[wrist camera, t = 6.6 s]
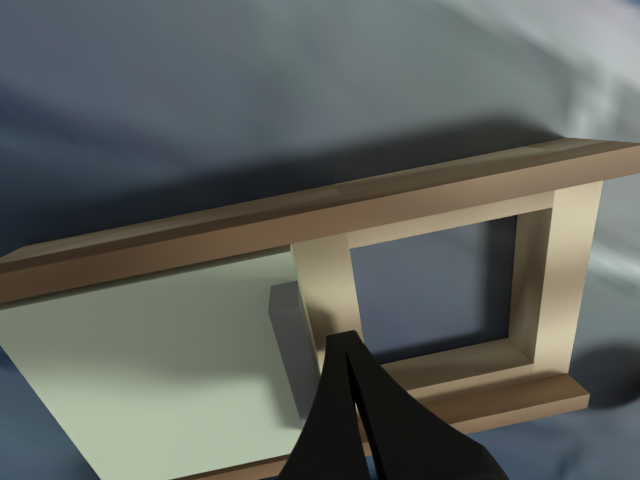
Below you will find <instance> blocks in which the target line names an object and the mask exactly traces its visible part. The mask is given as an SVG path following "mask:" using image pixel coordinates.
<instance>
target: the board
mask: <svg viewBox="0 0 640 480" xmlns="http://www.w3.org/2000/svg"><path fill="white" fill-rule="evenodd" d="M637 173H640V143H631V142H618V141H605V140H591V139H578V138H562V139H557V140H552V141H547V142H542V143H537V144H532V145H527V146H522V147H517V148H512V149H507V150H502V151H497V152H492V153H487V154H482V155H477V156H472V157H467V158H462V159H457V160H452V161H447V162H442V163H437V164H432V165H427V166H422V167H417V168H412V169H407V170H402V171H397V172H392V173H387V174H382V175H377V176H372V177H367V178H362V179H357V180H352V181H347V182H342V183H337V184H332V185H327V186H322V187H317V188H312V189H307V190H302V191H297V192H292V193H287V194H282V195H277V196H272V197H267V198H262V199H257V200H252V201H247V202H242V203H237V204H232V205H227V206H222V207H217V208H212V209H207V210H202V211H197V212H192V213H187V214H182V215H177V216H172V217H167V218H162V219H157V220H152V221H147V222H142V223H137V224H132V225H127V226H122V227H117V228H112V229H107V230H102V231H97V232H92V233H87V234H82V235H77V236H72V237H67V238H62V239H57V240H52V241H47V242H42V243H37V244H33V245H28V246H23V247H21V248H19V249H17V250H15V251H13V252H11V253H9V254H7V255H5V256H3V257H1V258H0V303H3V302H8V301H13V300H17V299H22V298H27V297H32V296H37V295H42V294H47V293H52V292H57V291H62V290H67V289H72V288H76V287H81V286H86V285H91V284H96V283H101V282H106V281H111V280H116V279H121V278H126V277H131V276H135V275H140V274H145V273H150V272H155V271H160V270H165V269H170V268H175V267H180V266H185V265H190V264H195V263H199V262H204V261H209V260H214V259H219V258H224V257H229V256H234V255H239V254H244V253H249V252H254V251H258V250H263V249H268V248H273V247H278V246H283V245H288V244H292V247H293V252H294V256H295V260H296V264H297V269H298V273H299V277H300V281H301V286H302V290H303V294H304V298H305V303H306V307H307V311H308V315H309V319H310V324H311V328H312V332H313V336H314V341H315V345H316V349H317V353H318V358H319V362H320V366H321V370H322V368H323V363H324V357H325V349H326V337H327V336H328V335H331V334H336V333H341V332H346V331H351V330H355V331H357V333H358V335H359V336H360V338H361V340H362V341H363V343H364V340H363V334H362V328H361V321H360V315H359V309H358V302H357V296H356V289H355V283H354V277H353V270H352V264H351V258H350V251H349V249H351V248H356V247H361V246H366V245H371V244H376V243H381V242H385V241H390V240H395V239H400V238H405V237H410V236H415V235H420V234H425V233H429V232H434V231H439V230H444V229H449V228H454V227H459V226H464V225H469V224H473V223H478V222H483V221H488V220H493V219H498V218H503V217H508V216H513V215H517V227H516V240H515V253H514V266H513V279H512V292H511V305H510V319H509V332H508V338H504V339H499V340H495V341H490V342H485V343H480V344H476V345H471V346H466V347H462V348H457V349H452V350H447V351H443V352H438V353H433V354H428V355H424V356H419V357H414V358H410V359H405V360H400V361H395V362H391V363H386V364H381V366H382V367H383V368H384V369H385V370H386V372H387V373H388V374H389V375H390V376H391V377H392V378H393V379H394V380H395V381H396V382H397V383H398V384H399V385H400V386H401V387H402V388H403V389H404V390H406V391H407V392H408V393H409V394H410V395H411V396H412V397H413V398H415V399H416V400H417V401H418V402H419V403H421V404H422V405H423V406H424V407H426V408H427V409H428V410H430V411H431V412H432V413H434V414H435V415H436V416H438V417H439V418H440V419H442V420H443V421H445V422H446V423H448V424H449V425H450V426H452V427H453V428H455V429H456V430H458V431H460V432H461V433H463V434H464V435H465V434H470V433H474V432H479V431H484V430H488V429H493V428H497V427H502V426H507V425H511V424H516V423H521V422H525V421H530V420H534V419H539V418H544V417H548V416H553V415H557V414H562V413H567V412H571V411H576V410H580V409H585V408H587V406H588V401H589V397H590V393H589V392H587V391H586V390H585V389H584V388H583V387H582V386H581V385H580V384H579V383H578V382H577V381H576V380H574V379H573V378H572V377H571V376H570V375H569V374H568V370H569V365H570V359H571V354H572V349H573V343H574V338H575V332H576V327H577V321H578V316H579V310H580V305H581V299H582V294H583V288H584V283H585V277H586V272H587V267H588V261H589V256H590V250H591V245H592V239H593V234H594V228H595V223H596V217H597V212H598V206H599V201H600V195H601V190H602V185H603V180H608V179H613V178H618V177H622V176H627V175H632V174H637ZM355 404H356V403H355ZM356 412H357V419H358V427H359V432H360V436H361V441H362V445H363V449H364V454H365V456H369V455H372V453H371V450H370V446H369V443H368V440H367V437H366V433H365V430H364V427H363V424H362V421H361V418H360V415H359V412H358V409H357V406H356ZM289 455H290V454H286V455H281V456H277V457H272V458H267V459H263V460H258V461H254V462H249V463H244V464H240V465H235V466H230V467H226V468H221V469H217V470H212V471H207V472H203V473H198V474H193V475H189V476H184V477H180V478H175V479H170V480H258V479H263V478H267V477H272V476H276V475H279V473H280V471H281V470H282V468H283V466H284V465H285V463H286V461H287V459H288V457H289Z"/></svg>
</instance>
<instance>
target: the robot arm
mask: <svg viewBox="0 0 640 480" xmlns="http://www.w3.org/2000/svg"><path fill="white" fill-rule="evenodd" d="M355 403H356V404H355ZM356 406H357V409H358V412H359V415H360V418H361V421H362V424H363V427H364V430H365V433H366V437H367V440H368V443H369V446H370V450H371V453H372V457H373V461H374V465H375V469H376V473H377V478H378V480H509V478H508V477H507V475H506V474H505V472H504V471H503V470H502V468H501V467H500V465H499V464H498V463H497V462H496V460H495V459H494V458H493V456H492V455H491V454H490V453H489V452H488V450H487V449H486V448H485V447H484V446H483V445H481V444H479V443H478V442H476V441H474V440H472V439H471V438H469V437H468V436H466V435H464V434H463V433H461V432H460V431H458V430H456V429H455V428H453V427H452V426H450V425H449V424H448V423H446V422H445V421H443V420H442V419H440V418H439V417H438V416H436V415H435V414H434V413H432V412H431V411H430V410H428V409H427V408H426V407H424V406H423V405H422V404H421V403H419V402H418V401H417V400H416V399H415V398H413V397H412V396H411V395H410V394H409V393H408V392H407V391H406V390H404V389H403V388H402V387H401V386H400V385H399V384H398V383H397V382H396V381H395V380H394V379H393V378H392V377H391V376H390V375H389V374H388V373H387V372H386V370H385V369H384V368H383V367H382V366H381V365H380V364H379V362H378V361H377V360H376V359H375V358H374V356H373V355H372V354H371V353H370V351H369V350H368V348H367V347H366V346H365V344H364V343H363V341H362V340H361V338H360V336H359V335H358V333H357V331H355V330H351V331H346V332H341V333H336V334H331V335H328V336H327V337H326V349H325V357H324V363H323V368H322V373H321V377H320V381H319V384H318V388H317V392H316V395H315V398H314V401H313V404H312V407H311V409H310V412H309V415H308V417H307V420H306V422H305V424H304V427H303V429H302V431H301V434H300V436H299V438H298V440H297V442H296V444H295V446H294V448H293V450H292V452H291V453H290V455H289V457H288V459H287V461H286V463H285V465H284V466H283V468H282V470H281V471H280V473H279V475H278V476H277V478H276V480H371V479H370V475H369V470H368V466H367V462H366V458H365V454H364V449H363V445H362V441H361V436H360V432H359V427H358V419H357V412H356Z"/></svg>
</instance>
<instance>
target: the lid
mask: <svg viewBox="0 0 640 480" xmlns="http://www.w3.org/2000/svg"><path fill="white" fill-rule="evenodd" d="M0 345H1V347H2V348H3V349H4V351H5V352H6V353H7V355H8V356H9V357H10V359H11V360H12V361H13V363H14V364H15V365H16V367H17V368H18V369H19V371H20V372H21V373H22V375H23V376H24V377H25V379H26V380H27V381H28V383H29V384H30V385H31V387H32V388H33V389H34V391H35V392H36V393H37V395H38V396H39V397H40V399H41V400H42V401H43V403H44V404H45V405H46V407H47V408H48V409H49V411H50V412H51V413H52V415H53V416H54V417H55V419H56V420H57V421H58V423H59V424H60V425H61V427H62V428H63V429H64V431H65V432H66V433H67V435H68V436H69V437H70V439H71V440H72V441H73V443H74V444H75V445H76V447H77V448H78V449H79V451H80V452H81V453H82V455H83V456H84V457H85V459H86V460H87V461H88V463H89V464H90V465H91V467H92V468H93V469H94V471H95V472H96V473H97V475H98V476H99V477H100V479H101V480H170V479H175V478H180V477H184V476H189V475H193V474H198V473H203V472H207V471H212V470H217V469H221V468H226V467H230V466H235V465H240V464H244V463H249V462H254V461H258V460H263V459H267V458H272V457H277V456H281V455H286V454H290V453H291V452H292V450H293V448H294V446H295V444H296V442H297V440H298V438H299V436H300V434H301V431H302V429H303V427H304V424H305V422H306V420H307V417H308V415H309V412H310V409H311V407H312V404H313V401H314V398H315V395H316V392H317V388H318V384H319V381H320V377H321V373H322V370H321V366H320V362H319V358H318V353H317V349H316V345H315V341H314V336H313V332H312V328H311V324H310V319H309V315H308V311H307V307H306V303H305V298H304V294H303V290H302V286H301V281H300V277H299V273H298V269H297V264H296V260H295V256H294V252H293V247H292V244H288V245H283V246H278V247H273V248H268V249H263V250H258V251H254V252H249V253H244V254H239V255H234V256H229V257H224V258H219V259H214V260H209V261H204V262H199V263H195V264H190V265H185V266H180V267H175V268H170V269H165V270H160V271H155V272H150V273H145V274H140V275H135V276H131V277H126V278H121V279H116V280H111V281H106V282H101V283H96V284H91V285H86V286H81V287H76V288H72V289H67V290H62V291H57V292H52V293H47V294H42V295H37V296H32V297H27V298H22V299H17V300H13V301H8V302H3V303H0Z"/></svg>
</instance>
